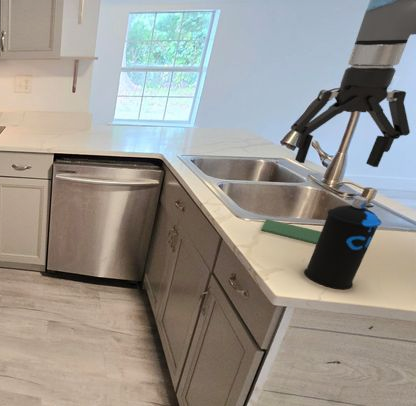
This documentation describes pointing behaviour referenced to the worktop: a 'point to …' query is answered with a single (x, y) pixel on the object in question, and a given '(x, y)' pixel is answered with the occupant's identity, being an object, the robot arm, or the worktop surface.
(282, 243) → the worktop surface
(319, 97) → the robot arm
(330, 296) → the worktop surface
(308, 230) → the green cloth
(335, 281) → the aerosol can
